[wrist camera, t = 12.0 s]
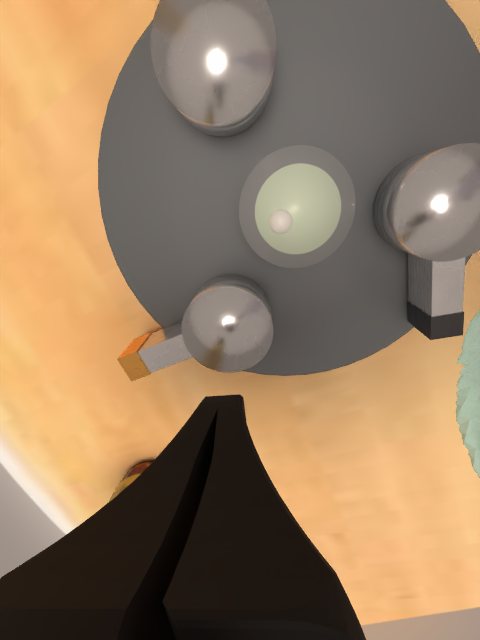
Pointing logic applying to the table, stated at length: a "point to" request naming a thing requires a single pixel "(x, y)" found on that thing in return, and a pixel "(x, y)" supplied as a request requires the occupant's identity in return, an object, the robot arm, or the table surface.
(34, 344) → the table surface
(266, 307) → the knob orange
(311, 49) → the tribrach plate
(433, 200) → the knob black
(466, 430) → the cloth
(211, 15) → the silver metal rounded piece
